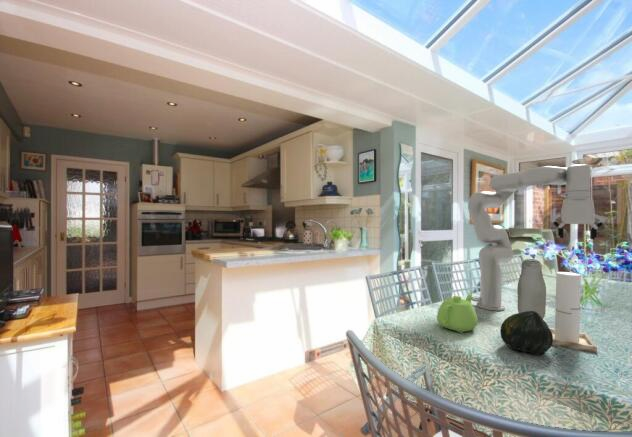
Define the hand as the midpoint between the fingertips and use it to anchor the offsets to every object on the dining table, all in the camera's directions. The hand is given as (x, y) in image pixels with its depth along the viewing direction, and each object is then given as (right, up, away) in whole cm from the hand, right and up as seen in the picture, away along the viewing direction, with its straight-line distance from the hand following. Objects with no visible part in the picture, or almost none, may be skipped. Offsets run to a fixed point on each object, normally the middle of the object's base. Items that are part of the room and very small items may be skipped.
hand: (576, 238), depth 124 cm
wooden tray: (-10, -38, -8) cm, 40 cm away
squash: (-31, -38, -15) cm, 52 cm away
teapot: (-45, -38, +6) cm, 59 cm away
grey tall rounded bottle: (-9, -38, +14) cm, 42 cm away
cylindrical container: (-10, -38, -8) cm, 40 cm away
